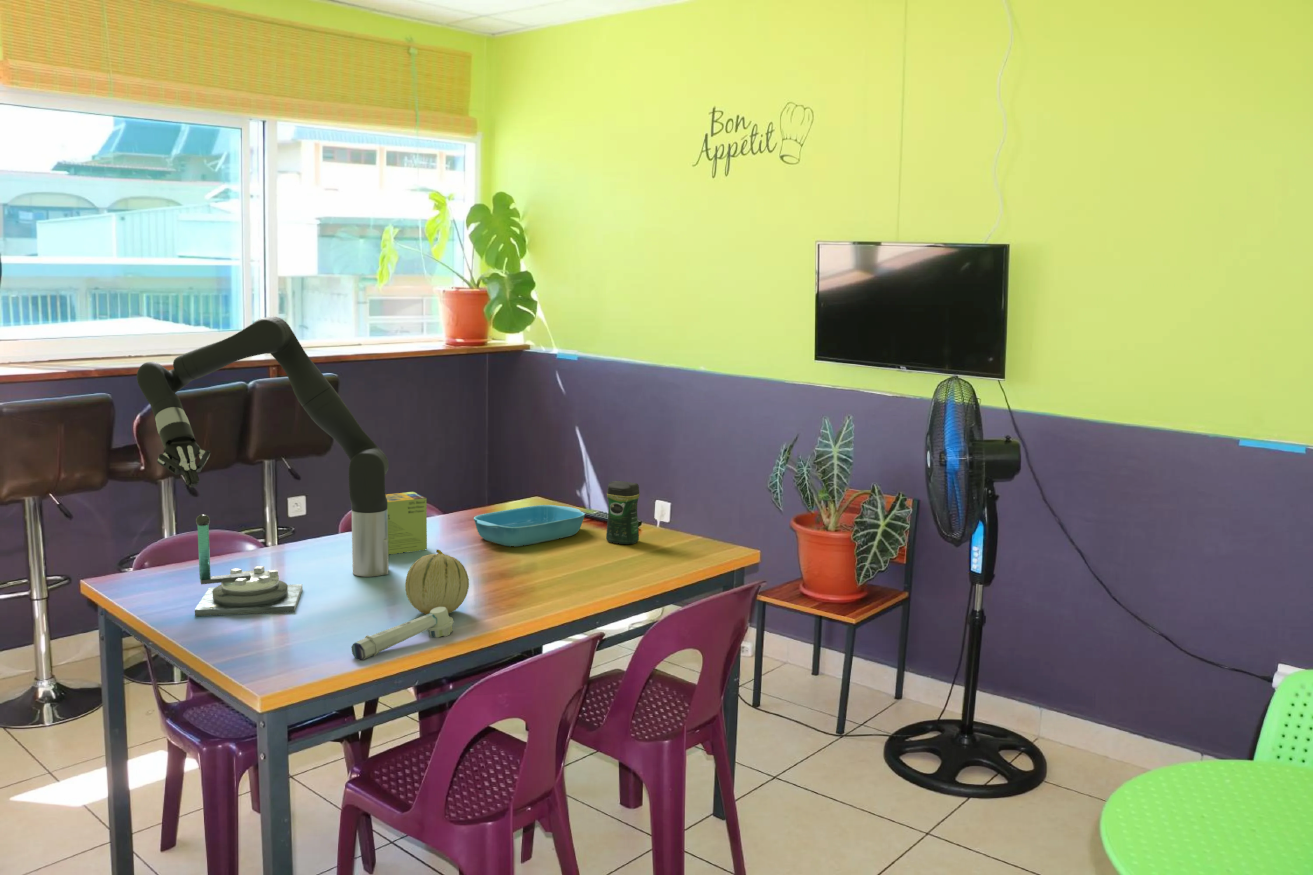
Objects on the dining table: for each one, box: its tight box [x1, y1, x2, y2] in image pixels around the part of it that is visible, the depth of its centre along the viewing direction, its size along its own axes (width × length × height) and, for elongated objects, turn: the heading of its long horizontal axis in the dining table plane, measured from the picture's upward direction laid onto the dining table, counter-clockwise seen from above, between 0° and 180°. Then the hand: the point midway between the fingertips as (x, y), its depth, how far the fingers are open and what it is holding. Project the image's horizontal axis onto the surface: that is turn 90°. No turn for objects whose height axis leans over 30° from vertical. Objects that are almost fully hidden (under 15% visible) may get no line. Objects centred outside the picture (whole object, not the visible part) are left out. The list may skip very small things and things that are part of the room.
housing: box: [194, 580, 303, 617], centre depth 262 cm, size 22×18×4 cm
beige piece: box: [350, 607, 454, 661], centre depth 235 cm, size 5×7×25 cm
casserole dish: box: [473, 504, 586, 547], centre depth 333 cm, size 37×22×7 cm, turn 137°
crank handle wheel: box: [195, 513, 280, 596], centre depth 259 cm, size 18×13×19 cm
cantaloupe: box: [404, 549, 470, 615], centre depth 256 cm, size 15×15×15 cm
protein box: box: [385, 491, 428, 556], centre depth 313 cm, size 10×15×16 cm
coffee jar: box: [605, 480, 641, 545], centre depth 328 cm, size 10×8×19 cm
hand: (194, 485), depth 266 cm, fingers closed
